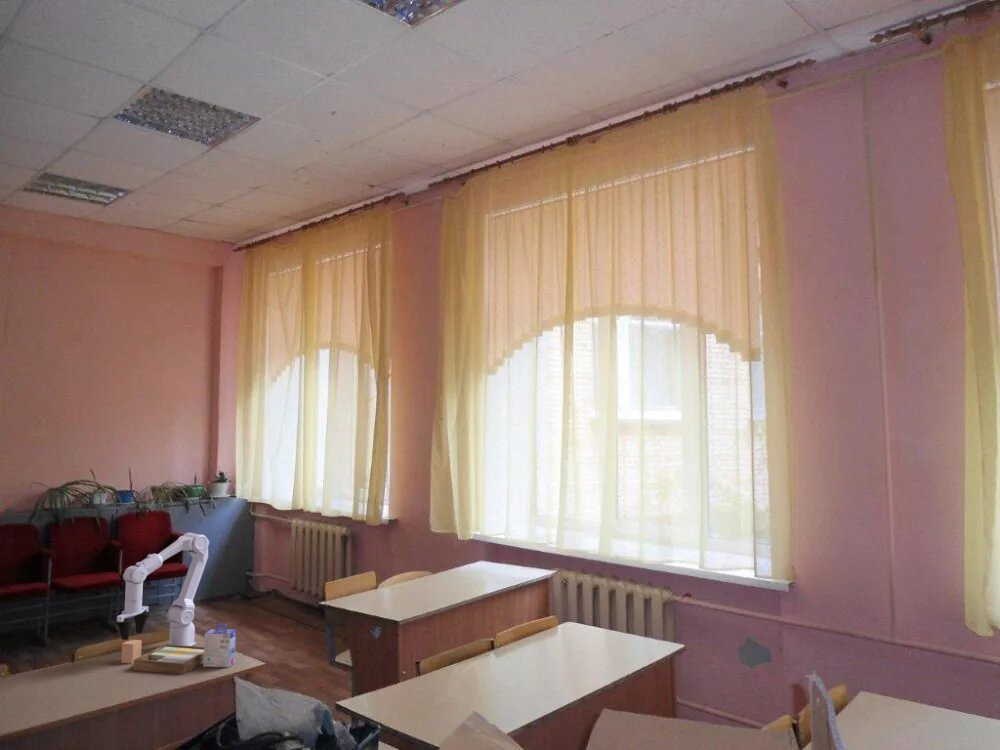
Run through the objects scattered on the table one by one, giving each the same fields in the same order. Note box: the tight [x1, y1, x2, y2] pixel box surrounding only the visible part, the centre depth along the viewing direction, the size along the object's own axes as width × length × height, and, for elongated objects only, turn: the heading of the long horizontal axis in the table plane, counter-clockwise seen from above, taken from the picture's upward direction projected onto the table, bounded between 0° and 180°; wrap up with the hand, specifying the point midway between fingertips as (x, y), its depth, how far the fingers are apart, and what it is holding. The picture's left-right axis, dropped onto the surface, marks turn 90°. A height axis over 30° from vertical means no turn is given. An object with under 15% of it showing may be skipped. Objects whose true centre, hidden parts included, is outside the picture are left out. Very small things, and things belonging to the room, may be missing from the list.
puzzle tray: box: [132, 643, 204, 675], centre depth 258 cm, size 18×20×4 cm
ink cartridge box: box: [202, 623, 237, 668], centre depth 257 cm, size 10×6×14 cm, turn 88°
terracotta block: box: [120, 639, 143, 664], centre depth 260 cm, size 5×5×7 cm
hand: (132, 636), depth 260 cm, fingers open, 7 cm apart
